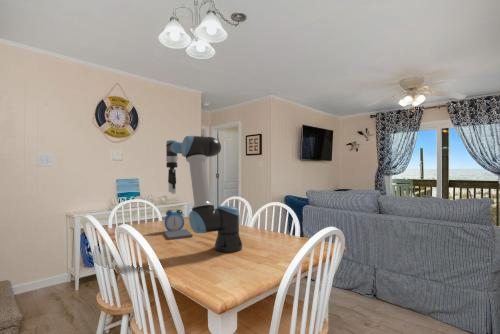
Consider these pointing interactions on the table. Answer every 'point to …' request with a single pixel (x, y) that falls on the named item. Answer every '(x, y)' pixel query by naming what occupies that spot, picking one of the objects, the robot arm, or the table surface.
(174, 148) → the robot arm
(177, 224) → the alarm clock
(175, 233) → the mat
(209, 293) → the table surface
